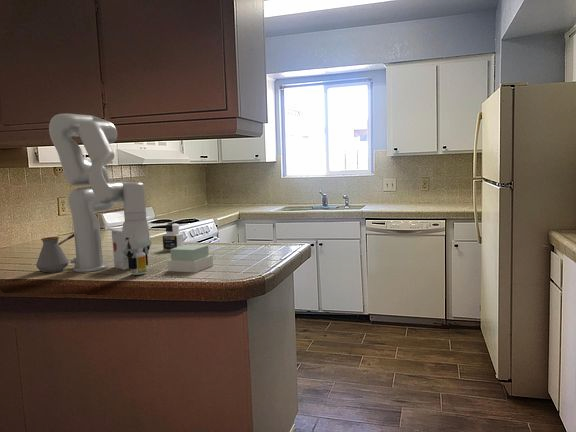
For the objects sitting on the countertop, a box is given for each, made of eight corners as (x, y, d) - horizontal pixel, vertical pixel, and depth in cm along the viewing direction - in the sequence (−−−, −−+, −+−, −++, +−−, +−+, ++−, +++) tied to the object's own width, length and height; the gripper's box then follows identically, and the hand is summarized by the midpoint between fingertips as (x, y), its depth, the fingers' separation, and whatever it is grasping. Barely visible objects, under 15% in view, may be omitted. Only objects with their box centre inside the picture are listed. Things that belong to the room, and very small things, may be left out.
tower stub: (167, 271, 184) (166, 249, 183) (186, 264, 195) (185, 244, 194) (195, 272, 179) (194, 250, 178) (213, 265, 190) (211, 244, 189)
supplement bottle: (148, 271, 183) (146, 245, 182) (144, 274, 178) (142, 247, 177) (133, 271, 183) (131, 245, 182) (129, 275, 178) (127, 248, 177)
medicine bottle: (163, 250, 230) (161, 224, 229) (170, 248, 237) (168, 222, 236) (177, 250, 228) (175, 224, 227) (184, 248, 235) (182, 222, 234)
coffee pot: (46, 275, 186) (42, 235, 184) (31, 272, 193) (27, 233, 191) (97, 264, 203) (94, 228, 201) (82, 262, 210) (79, 226, 208)
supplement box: (113, 267, 196) (110, 229, 194) (135, 263, 202) (132, 226, 200) (123, 270, 189) (120, 231, 188) (145, 266, 195) (142, 228, 194)
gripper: (142, 214, 187) (145, 261, 189) (110, 219, 172) (113, 271, 174) (158, 214, 184) (161, 262, 187) (127, 220, 169) (131, 272, 171)
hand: (138, 266), depth 180 cm, fingers closed on supplement bottle, 5 cm apart
